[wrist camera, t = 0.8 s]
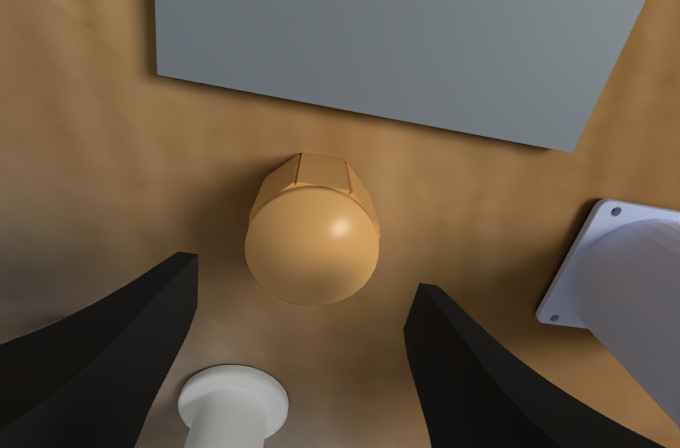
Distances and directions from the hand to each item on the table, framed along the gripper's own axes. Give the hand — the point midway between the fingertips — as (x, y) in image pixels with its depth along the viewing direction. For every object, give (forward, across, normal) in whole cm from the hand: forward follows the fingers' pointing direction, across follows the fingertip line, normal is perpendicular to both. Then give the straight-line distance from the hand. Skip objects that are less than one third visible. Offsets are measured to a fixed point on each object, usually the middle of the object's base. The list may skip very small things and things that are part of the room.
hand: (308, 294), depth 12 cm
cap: (+7, 0, 0) cm, 7 cm away
